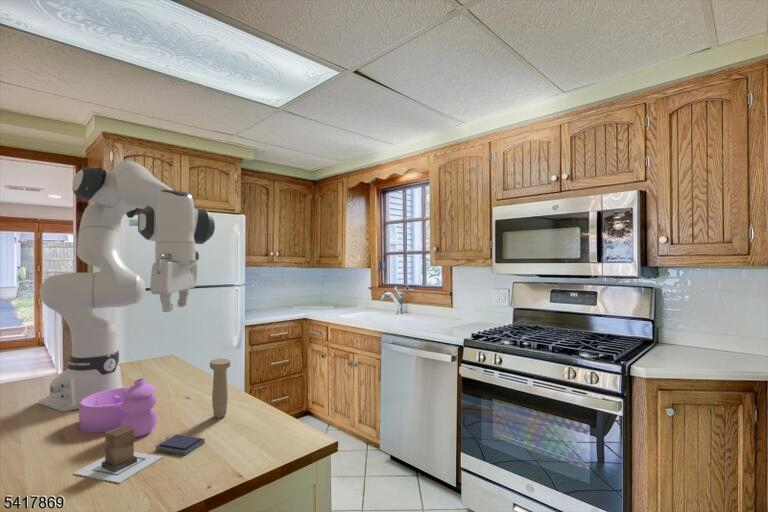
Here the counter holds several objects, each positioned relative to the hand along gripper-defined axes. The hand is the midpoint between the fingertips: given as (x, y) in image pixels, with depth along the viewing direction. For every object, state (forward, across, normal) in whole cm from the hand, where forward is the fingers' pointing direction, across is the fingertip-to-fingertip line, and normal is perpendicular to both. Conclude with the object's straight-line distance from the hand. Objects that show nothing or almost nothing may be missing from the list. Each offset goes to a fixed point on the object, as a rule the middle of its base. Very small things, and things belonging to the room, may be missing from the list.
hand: (175, 309), depth 97 cm
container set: (+31, +6, +14) cm, 35 cm away
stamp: (+30, -16, +5) cm, 34 cm away
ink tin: (+30, -10, -5) cm, 32 cm away
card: (+30, -16, +5) cm, 35 cm away
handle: (+31, +7, -9) cm, 33 cm away
